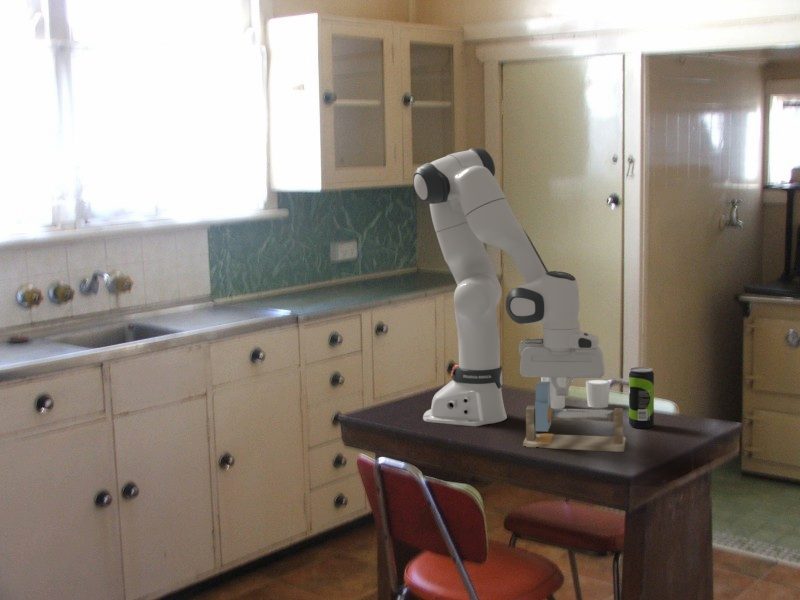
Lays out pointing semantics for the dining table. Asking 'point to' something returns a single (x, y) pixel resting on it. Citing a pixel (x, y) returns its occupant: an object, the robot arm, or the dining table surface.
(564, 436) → the pipe stand
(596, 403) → the small white cup
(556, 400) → the cup
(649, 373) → the beverage can
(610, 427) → the dining table surface
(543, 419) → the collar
